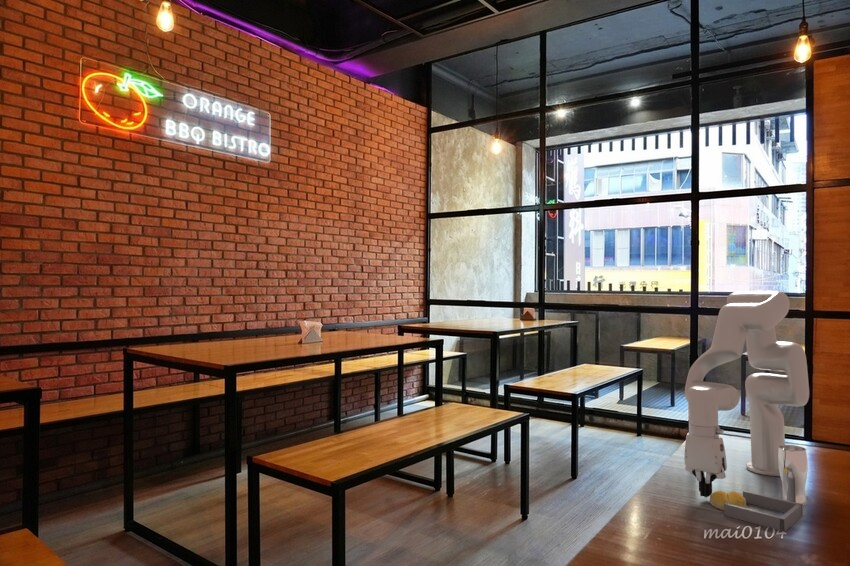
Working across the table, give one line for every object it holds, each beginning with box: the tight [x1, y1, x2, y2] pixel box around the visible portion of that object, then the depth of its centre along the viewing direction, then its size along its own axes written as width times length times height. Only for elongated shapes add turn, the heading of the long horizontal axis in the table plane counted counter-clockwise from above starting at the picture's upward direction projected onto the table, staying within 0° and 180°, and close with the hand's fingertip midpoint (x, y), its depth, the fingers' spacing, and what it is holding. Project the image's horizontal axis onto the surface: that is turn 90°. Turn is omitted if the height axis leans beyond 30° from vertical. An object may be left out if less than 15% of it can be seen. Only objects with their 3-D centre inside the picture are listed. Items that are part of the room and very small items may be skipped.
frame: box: [723, 490, 804, 532], centre depth 145 cm, size 14×14×3 cm
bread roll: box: [709, 490, 748, 511], centre depth 152 cm, size 8×9×4 cm
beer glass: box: [778, 444, 809, 507], centre depth 154 cm, size 7×7×15 cm
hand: (705, 495), depth 156 cm, fingers closed
